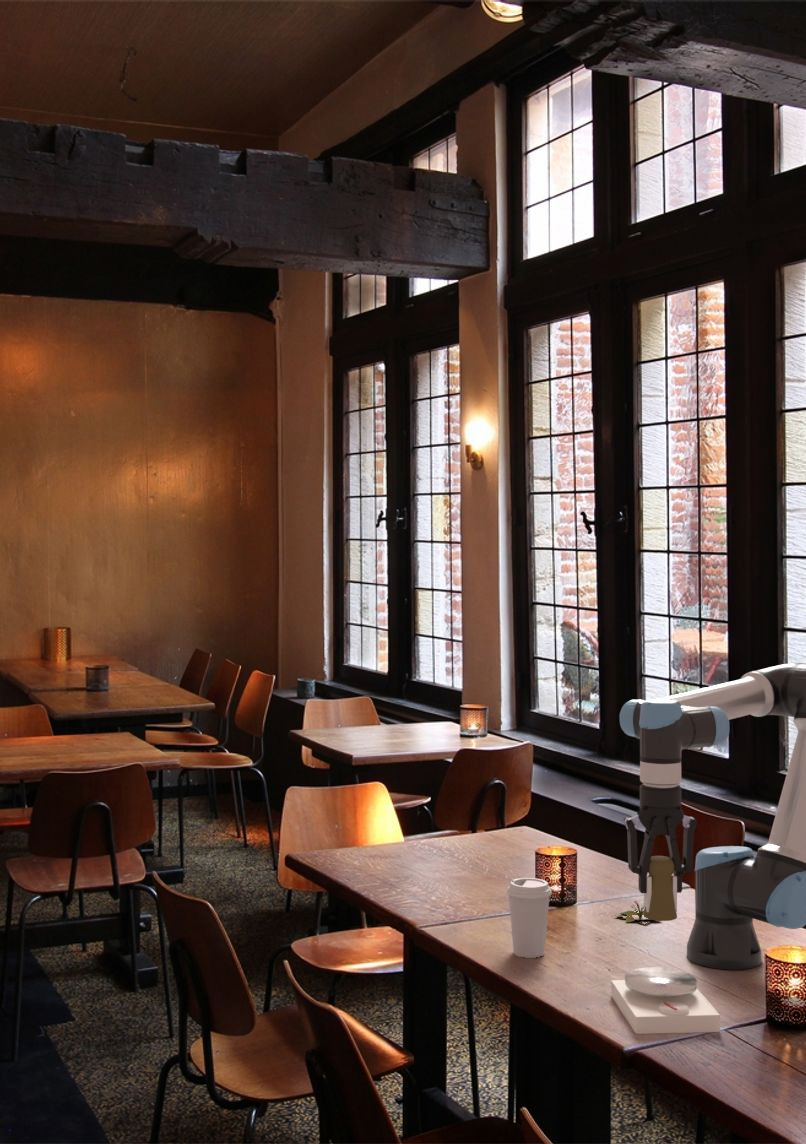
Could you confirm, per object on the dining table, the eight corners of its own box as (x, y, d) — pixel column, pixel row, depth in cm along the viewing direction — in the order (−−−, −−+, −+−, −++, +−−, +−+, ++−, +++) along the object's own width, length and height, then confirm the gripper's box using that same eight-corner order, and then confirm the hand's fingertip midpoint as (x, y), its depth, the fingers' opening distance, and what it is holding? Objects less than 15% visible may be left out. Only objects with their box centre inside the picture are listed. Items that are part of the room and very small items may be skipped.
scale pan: (685, 972, 236) (685, 966, 236) (705, 996, 223) (705, 990, 223) (617, 974, 235) (617, 967, 235) (634, 998, 222) (634, 991, 222)
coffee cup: (522, 943, 269) (522, 874, 269) (560, 952, 263) (560, 881, 263) (497, 954, 261) (497, 883, 261) (535, 963, 255) (535, 891, 255)
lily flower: (604, 920, 288) (604, 900, 288) (634, 909, 296) (634, 890, 296) (647, 931, 280) (647, 911, 279) (677, 920, 288) (677, 900, 288)
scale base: (688, 994, 237) (688, 973, 237) (719, 1032, 218) (719, 1009, 218) (611, 996, 236) (611, 975, 236) (635, 1033, 217) (635, 1011, 217)
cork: (677, 921, 226) (677, 861, 226) (643, 919, 227) (643, 859, 227) (676, 912, 232) (676, 853, 231) (643, 910, 233) (643, 852, 233)
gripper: (700, 779, 233) (699, 903, 233) (610, 780, 232) (609, 905, 232) (712, 787, 226) (712, 915, 226) (619, 788, 225) (619, 916, 225)
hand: (660, 909), depth 229 cm, fingers closed on cork, 4 cm apart
